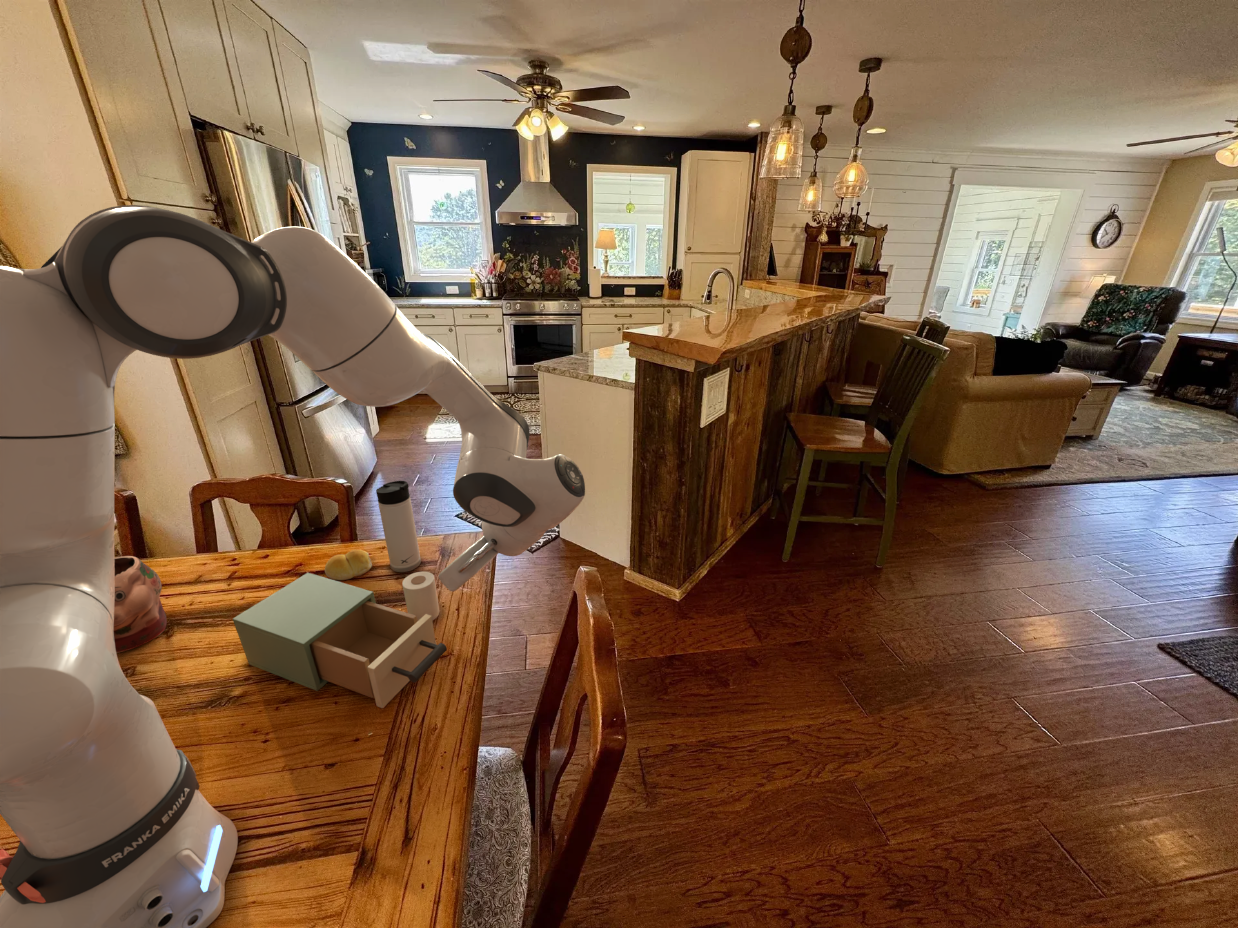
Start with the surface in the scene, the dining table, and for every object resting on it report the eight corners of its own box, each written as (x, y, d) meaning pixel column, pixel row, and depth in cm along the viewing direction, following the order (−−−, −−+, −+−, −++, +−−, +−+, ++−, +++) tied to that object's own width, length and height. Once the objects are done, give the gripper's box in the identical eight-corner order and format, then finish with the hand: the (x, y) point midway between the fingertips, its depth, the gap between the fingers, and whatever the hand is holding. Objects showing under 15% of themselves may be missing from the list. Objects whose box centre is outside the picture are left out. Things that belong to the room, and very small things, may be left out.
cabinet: (382, 634, 90) (373, 591, 86) (317, 691, 78) (303, 644, 74) (319, 613, 95) (307, 572, 91) (248, 664, 83) (232, 618, 79)
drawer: (460, 659, 83) (455, 622, 80) (408, 718, 73) (400, 678, 70) (372, 630, 89) (364, 595, 86) (311, 681, 79) (300, 643, 76)
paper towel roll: (426, 627, 92) (420, 591, 88) (402, 620, 93) (395, 584, 90) (445, 608, 96) (440, 574, 93) (422, 602, 98) (416, 568, 95)
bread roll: (324, 567, 108) (320, 552, 107) (368, 555, 113) (365, 540, 112) (328, 587, 102) (324, 571, 101) (375, 573, 107) (371, 557, 105)
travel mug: (412, 574, 107) (397, 492, 99) (384, 570, 108) (368, 488, 100) (427, 558, 112) (415, 479, 104) (402, 555, 113) (387, 476, 106)
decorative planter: (78, 623, 91) (46, 560, 86) (164, 593, 100) (139, 533, 94) (90, 680, 79) (53, 610, 74) (187, 640, 88) (160, 575, 82)
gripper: (486, 577, 70) (439, 616, 77) (553, 514, 88) (509, 549, 95) (456, 544, 70) (411, 586, 77) (529, 487, 88) (487, 525, 94)
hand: (466, 565), depth 86 cm, fingers open, 8 cm apart
